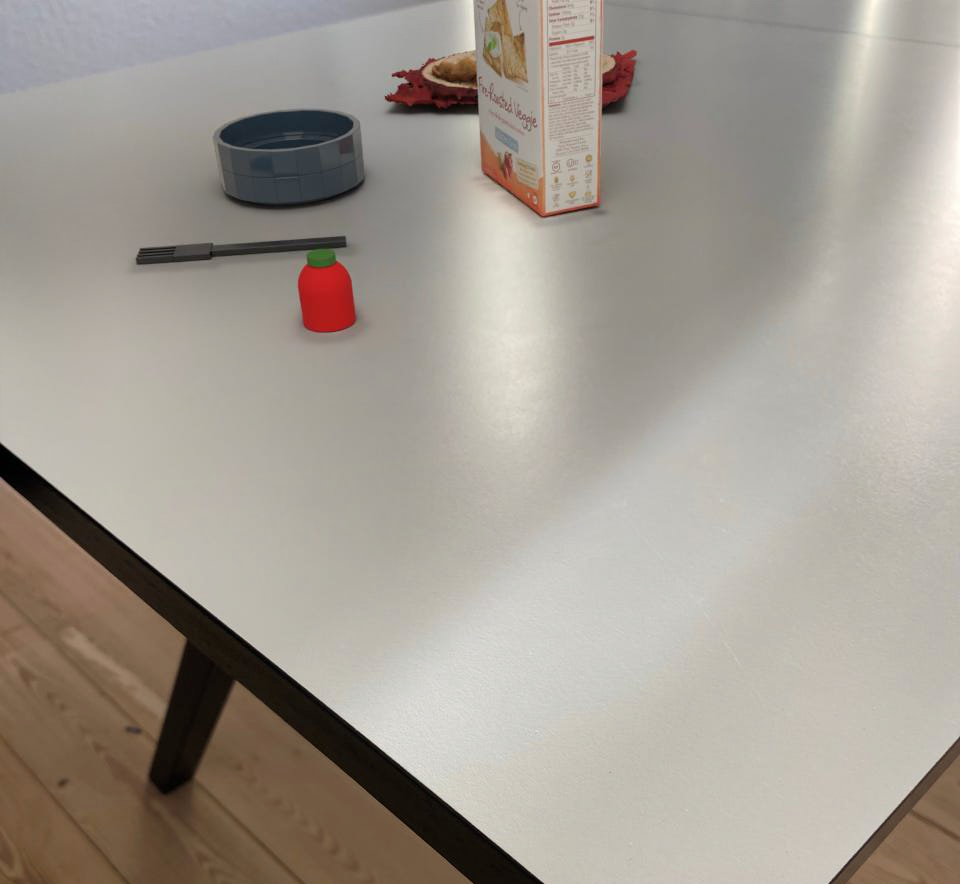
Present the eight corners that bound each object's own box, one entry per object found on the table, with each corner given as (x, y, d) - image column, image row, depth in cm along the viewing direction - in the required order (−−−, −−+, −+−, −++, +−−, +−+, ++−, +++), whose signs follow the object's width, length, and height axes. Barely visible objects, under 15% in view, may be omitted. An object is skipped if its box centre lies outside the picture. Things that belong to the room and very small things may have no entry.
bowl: (216, 214, 99) (205, 156, 96) (230, 168, 109) (220, 113, 106) (365, 204, 99) (359, 145, 96) (365, 159, 110) (360, 104, 106)
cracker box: (476, 173, 105) (465, -92, 91) (535, 163, 106) (532, -99, 93) (538, 220, 95) (535, -71, 81) (602, 207, 96) (609, -79, 83)
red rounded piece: (302, 334, 79) (291, 266, 76) (304, 312, 82) (294, 245, 79) (356, 330, 79) (347, 262, 76) (356, 308, 82) (348, 241, 79)
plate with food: (623, 117, 117) (625, 81, 115) (385, 111, 121) (383, 76, 119) (636, 65, 135) (638, 33, 133) (429, 60, 139) (428, 29, 137)
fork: (346, 249, 91) (345, 243, 91) (136, 264, 91) (135, 258, 90) (346, 238, 93) (345, 233, 93) (141, 253, 93) (139, 247, 92)
